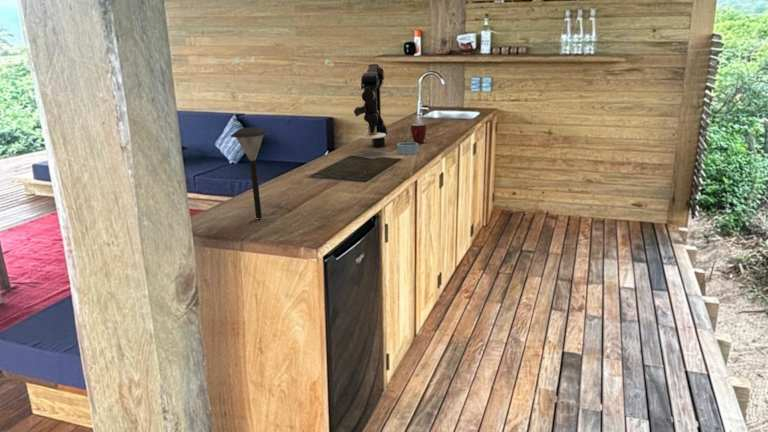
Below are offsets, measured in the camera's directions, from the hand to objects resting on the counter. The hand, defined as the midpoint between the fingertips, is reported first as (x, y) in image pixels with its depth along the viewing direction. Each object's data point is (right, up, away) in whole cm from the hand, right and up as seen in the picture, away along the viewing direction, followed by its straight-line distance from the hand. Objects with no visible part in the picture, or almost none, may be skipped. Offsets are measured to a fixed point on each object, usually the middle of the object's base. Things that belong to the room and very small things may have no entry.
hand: (372, 132), depth 292 cm
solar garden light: (-36, -42, -94) cm, 109 cm away
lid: (0, -2, +1) cm, 2 cm away
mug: (+24, -2, +29) cm, 38 cm away
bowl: (+17, -10, +3) cm, 20 cm away
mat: (+1, -11, +3) cm, 11 cm away
